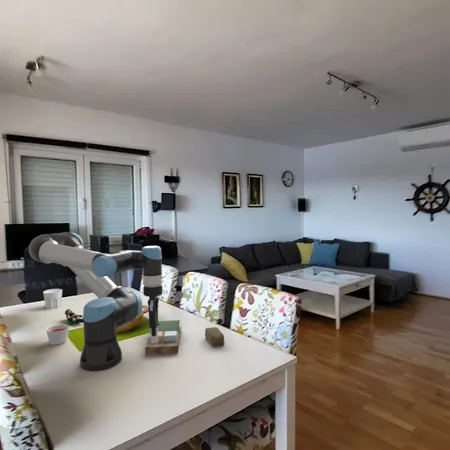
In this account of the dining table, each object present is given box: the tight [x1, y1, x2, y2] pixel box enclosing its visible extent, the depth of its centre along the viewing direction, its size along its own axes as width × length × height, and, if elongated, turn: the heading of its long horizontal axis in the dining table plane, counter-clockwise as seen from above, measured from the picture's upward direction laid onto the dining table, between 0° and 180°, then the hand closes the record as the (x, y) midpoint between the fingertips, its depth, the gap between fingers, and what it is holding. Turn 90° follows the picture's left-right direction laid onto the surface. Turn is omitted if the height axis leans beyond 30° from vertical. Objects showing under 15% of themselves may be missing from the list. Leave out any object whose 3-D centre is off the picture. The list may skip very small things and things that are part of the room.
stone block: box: [204, 326, 225, 348], centre depth 143 cm, size 6×12×5 cm, turn 20°
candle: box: [45, 324, 70, 346], centre depth 145 cm, size 9×9×6 cm
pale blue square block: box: [164, 331, 177, 341], centre depth 139 cm, size 5×5×2 cm
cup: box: [42, 288, 63, 310], centre depth 196 cm, size 10×10×10 cm
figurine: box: [64, 308, 83, 327], centre depth 170 cm, size 8×6×15 cm
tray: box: [149, 319, 183, 340], centre depth 150 cm, size 14×9×6 cm, turn 95°
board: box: [144, 333, 181, 355], centre depth 138 cm, size 13×14×3 cm
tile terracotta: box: [148, 331, 163, 342], centre depth 139 cm, size 5×5×2 cm
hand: (154, 342), depth 132 cm, fingers closed
